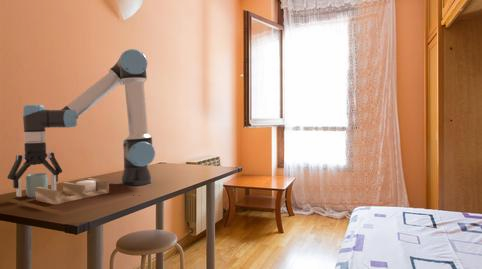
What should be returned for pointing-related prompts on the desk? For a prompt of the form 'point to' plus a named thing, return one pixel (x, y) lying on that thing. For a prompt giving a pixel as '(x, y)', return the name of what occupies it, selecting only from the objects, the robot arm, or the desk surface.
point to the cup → (35, 183)
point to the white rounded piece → (88, 185)
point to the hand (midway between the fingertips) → (37, 192)
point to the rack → (70, 192)
